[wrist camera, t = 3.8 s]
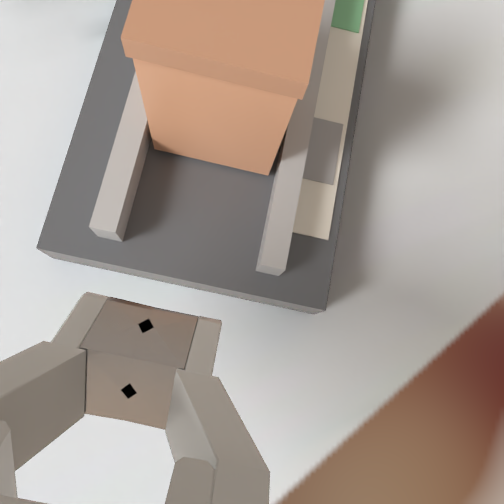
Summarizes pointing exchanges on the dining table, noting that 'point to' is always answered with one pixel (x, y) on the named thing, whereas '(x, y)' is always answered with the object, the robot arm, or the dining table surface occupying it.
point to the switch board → (213, 183)
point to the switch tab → (222, 74)
